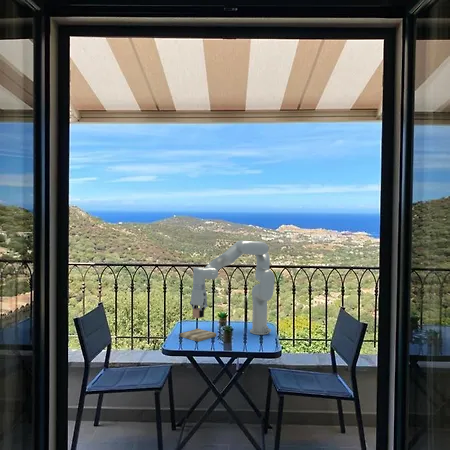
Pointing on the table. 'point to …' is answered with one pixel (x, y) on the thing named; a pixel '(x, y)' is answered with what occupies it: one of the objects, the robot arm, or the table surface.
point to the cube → (196, 313)
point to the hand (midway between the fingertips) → (198, 315)
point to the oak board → (198, 335)
